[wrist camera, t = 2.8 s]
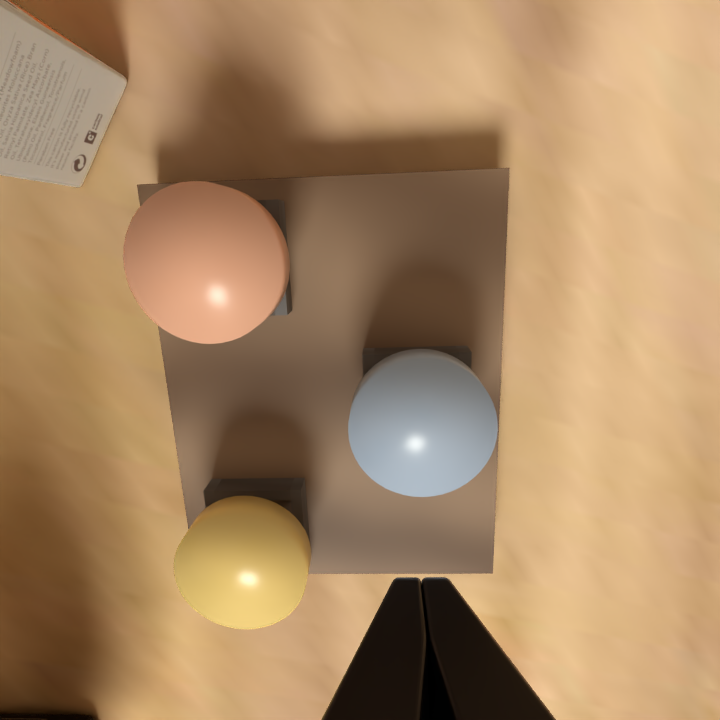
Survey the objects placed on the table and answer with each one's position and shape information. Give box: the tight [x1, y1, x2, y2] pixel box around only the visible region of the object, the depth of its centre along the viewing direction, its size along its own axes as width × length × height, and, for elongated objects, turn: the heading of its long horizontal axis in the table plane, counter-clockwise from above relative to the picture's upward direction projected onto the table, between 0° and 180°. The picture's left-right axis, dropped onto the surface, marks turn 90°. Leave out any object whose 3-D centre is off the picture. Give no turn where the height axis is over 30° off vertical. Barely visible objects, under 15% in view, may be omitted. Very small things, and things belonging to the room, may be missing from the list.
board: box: [137, 168, 509, 574], centre depth 18 cm, size 15×12×2 cm
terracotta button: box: [123, 181, 290, 344], centre depth 14 cm, size 4×4×2 cm
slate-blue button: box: [348, 349, 498, 497], centre depth 15 cm, size 4×4×2 cm
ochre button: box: [174, 496, 311, 629], centre depth 17 cm, size 4×4×2 cm
